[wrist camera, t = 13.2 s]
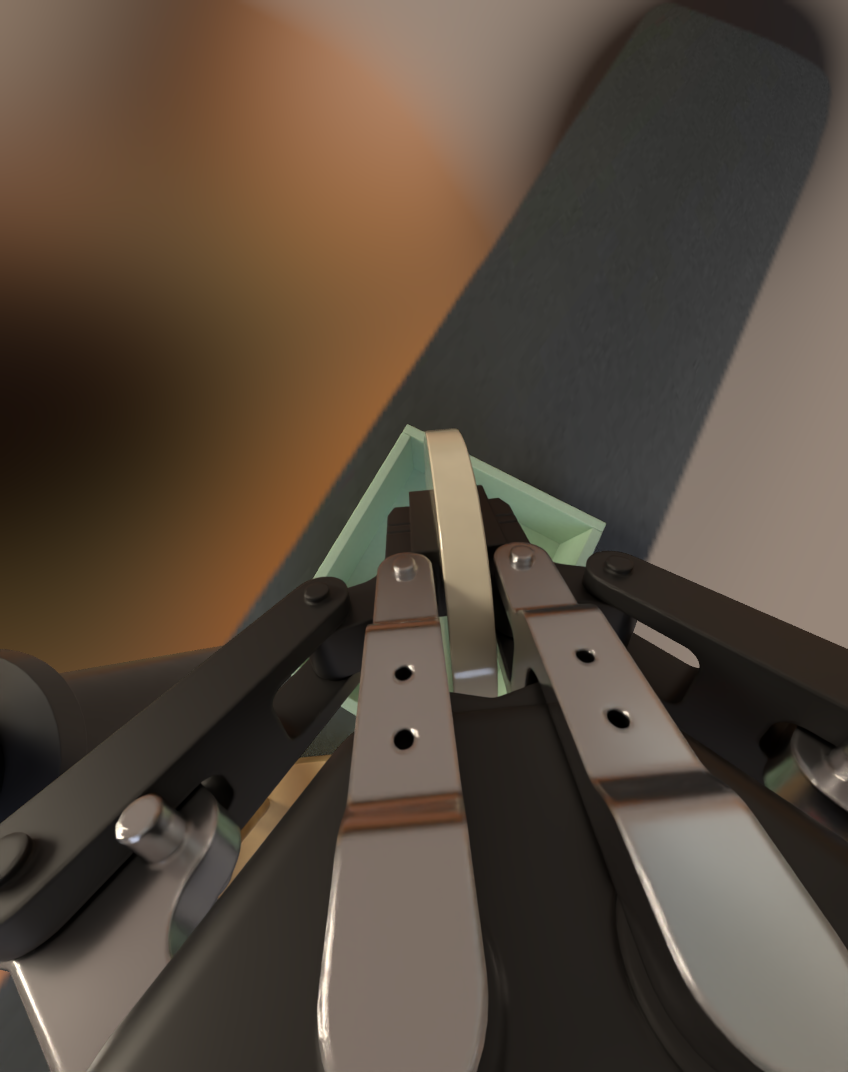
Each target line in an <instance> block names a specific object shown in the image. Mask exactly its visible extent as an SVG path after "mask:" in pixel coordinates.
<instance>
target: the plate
mask: <svg viewBox="0 0 848 1072" xmlns="http://www.w3.org/2000/svg"><path fill="white" fill-rule="evenodd" d="M424 465H425V481H426V490H430V496H431V502H432V508H433V515H434V521H435V527H436V534H437V540H438V546H439V556H440V572H441V588H442V603H443V617H439V618H440V624H441V632H442V640H443V647H444V655H445V663H446V671H447V678H448V686H449V692H454V693H461V694H468V695H475V696H482V697H490V698H494V697H498V666H497V643H496V629H495V615H494V605H493V594H492V584H491V576H490V567H489V559H488V551H487V544H486V537H485V530H484V524H483V518H482V512H481V506H480V500H479V495H478V490H477V485H476V480H475V476H474V472H473V468H472V464H471V460H470V456H469V453H468V450H467V446H466V444H465V441H464V439H463V436H462V435H461V433H460V431H459V430H458V429H456V428H451V429H440V430H429V431H425V432H424Z"/></svg>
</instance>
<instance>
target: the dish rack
mask: <svg viewBox="0 0 848 1072" xmlns="http://www.w3.org/2000/svg"><path fill="white" fill-rule="evenodd" d="M330 756H331V755H323V756H312V757H302V758H299V759H298V760H297V761H296V763H295V764H294V765H293V766H292V768H291V769H290V770H289V771H288V773H287V774H286V775H285V776H284V778H283V779H282V780H281V781H280V783H279V784H278V785H277V786H276V788H275V789H274V790H273V791H272V793H271V794H270V795H269V796H268V798H267V799H266V800H265V801H264V803H263V804H262V805H261V806H260V808H259V809H258V810H257V811H256V813H255V814H254V815H253V816H252V818H251V819H250V820H249V821H248V823H247V824H246V825H245V826H244V828H243V829H242V830H241V831H240V832H241V849H240V853H239V858H238V861H237V863H236V866H235V869H234V871H233V874H232V877H231V880H230V882H229V884H228V886H229V885H230V884H231V882H232V881H233V880H234V878H235V877H236V876H237V875H238V873H239V872H240V871H241V870H242V868H243V867H244V866H245V864H246V863H247V862H248V861H249V859H250V858H251V857H252V856H253V854H254V853H255V852H256V850H257V849H258V848H259V847H260V845H261V844H262V843H263V842H264V840H265V839H266V838H267V836H268V835H269V834H270V833H271V831H272V830H273V829H274V828H275V826H276V825H277V824H278V822H279V821H280V820H281V819H282V817H283V816H284V815H285V814H286V812H287V811H288V810H289V809H290V807H291V806H292V805H293V803H294V802H295V801H296V800H297V798H298V797H299V796H300V794H301V793H302V792H303V791H304V789H305V788H306V787H307V786H308V784H309V783H310V782H311V780H312V779H313V778H314V777H315V775H316V774H317V773H318V771H319V770H320V769H321V768H322V766H323V765H324V764H325V763H326V761H327V760H328V759H329V757H330ZM228 886H227V887H228ZM227 887H226V889H227ZM226 889H225V890H226ZM225 890H224V891H225ZM224 891H223V892H224ZM223 892H222V893H221V894H220V895H219V896H218V899H219V898H220V896H221V895H222V894H223Z"/></svg>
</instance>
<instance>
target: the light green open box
mask: <svg viewBox="0 0 848 1072" xmlns="http://www.w3.org/2000/svg"><path fill="white" fill-rule="evenodd" d="M469 456H470V455H469ZM470 460H471V464H472V468H473V472H474V476H475V480H476V485H482V486H483V488H484V491H485V493H486V495H487V497H488V499H491V498H500V499H501V500H503V501H504V502H506V503H507V504H509V505H510V507H511V509H512V511H513V513H514V515H515V516H516V518H517V520H518V522H519V524H520V525H521V527H522V529H523V531H524V533H525V534H526V536H527V538H528V540H529V542H530V543H531V544H534V545H537V546H539V547H541V548H543V549H544V550H545V551H546V552H547V553H548V554H549V556H550V557H551V559H552V561H553V562H556V563H560V564H567V565H576V566H586V562H587V559H588V557H590V556H591V555H592V554H593V552H594V550H595V548H596V545H597V543H598V541H599V539H600V537H601V535H602V532H603V530H604V528H605V526H606V523H604V522H602V521H600V520H598V519H596V518H594V517H592V516H590V515H588V514H586V513H584V512H582V511H580V510H578V509H576V508H574V507H572V506H570V505H568V504H566V503H564V502H562V501H560V500H558V499H556V498H554V497H552V496H550V495H548V494H546V493H544V492H542V491H540V490H538V489H536V488H534V487H532V486H530V485H528V484H526V483H524V482H522V481H520V480H518V479H516V478H514V477H512V476H510V475H508V474H506V473H504V472H502V471H500V470H498V469H496V468H494V467H492V466H490V465H488V464H486V463H484V462H482V461H480V460H478V459H476V458H474V457H472V456H470ZM421 490H426V481H425V465H424V432H422V431H420V430H418V429H416V428H414V427H412V426H410V425H408V424H407V426H406V427H405V429H404V431H403V433H402V434H401V435H400V437H399V439H398V440H397V442H396V444H395V445H394V447H393V449H392V450H391V452H390V453H389V455H388V457H387V458H386V460H385V462H384V463H383V465H382V467H381V468H380V470H379V471H378V473H377V475H376V476H375V478H374V480H373V481H372V483H371V485H370V486H369V488H368V489H367V491H366V493H365V494H364V496H363V498H362V499H361V501H360V503H359V504H358V506H357V507H356V509H355V511H354V512H353V514H352V516H351V517H350V519H349V521H348V522H347V524H346V525H345V527H344V529H343V530H342V532H341V534H340V535H339V537H338V539H337V540H336V542H335V543H334V545H333V547H332V548H331V550H330V552H329V553H328V555H327V557H326V558H325V560H324V562H323V563H322V565H321V566H320V568H319V570H318V571H317V573H316V575H315V576H314V578H318V577H336V578H339V579H341V580H342V581H344V582H345V583H346V585H347V587H348V588H349V587H352V586H355V585H358V584H361V583H364V582H366V581H368V580H370V579H372V578H374V577H375V576H376V575H377V570H378V567H379V565H380V564H381V562H382V561H384V560H385V550H386V534H387V517H388V515H389V514H390V512H391V511H392V510H393V509H394V507H405V506H409V492H411V491H421ZM314 578H313V579H314ZM308 659H309V658H308ZM308 659H307V660H308ZM307 660H306V661H307ZM306 661H305V662H306ZM305 662H304V663H305ZM304 663H303V664H302V665H301V666H300V667H299V668H298V669H297V670H296V671H295V672H294V673H293V674H292V675H291V676H293V675H294V674H295V673H296V672H297V671H298V670H299V669H300V668H301V667H302V666H303V665H304ZM497 666H498V697H499V696H501V695H504V694H507V691H506V687H505V684H504V680H503V676H502V673H501V669H500V665H499V662H498V658H497ZM359 686H360V683H359V684H358V685H357V686H356V688H355V689H354V690H353V691H352V693H351V694H350V695H349V696H348V698H347V699H346V700H345V701H344V703H343V704H342V705H341V707H343V708H344V709H346V710H348V711H349V712H351V713H352V714H354V715H356V714H357V705H358V696H359Z"/></svg>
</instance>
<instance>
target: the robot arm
mask: <svg viewBox="0 0 848 1072" xmlns="http://www.w3.org/2000/svg"><path fill="white" fill-rule="evenodd" d="M477 490H478V495H479V500H480V506H481V512H482V518H483V524H484V530H485V537H486V544H487V551H488V559H489V567H490V576H491V584H492V594H493V605H494V615H495V629H496V643H497V658H498V662H499V665H500V669H501V673H502V676H503V680H504V684H505V687H506V691H507V694H504V695H501V696H499V697H494V698H490V697H482V696H475V695H468V694H461V693H454V692H449V686H448V678H447V671H446V663H445V655H444V647H443V640H442V632H441V624H440V618H439V617H443V603H442V588H441V572H440V556H439V546H438V540H437V534H436V527H435V521H434V515H433V508H432V502H431V496H430V490H421V491H411V492H409V506H405V507H394V509H393V510H392V511H391V512H390V514H389V515H388V517H387V534H386V550H385V560H384V561H382V562H381V564H380V565H379V567H378V570H377V575H376V576H375V577H374V578H372V579H370V580H368V581H366V582H364V583H361V584H358V585H355V586H352V587H349V588H348V587H347V585H346V583H345V582H344V581H342V580H341V579H339V578H336V577H318V578H314V579H311V580H309V581H306V582H304V583H303V584H301V585H300V586H298V587H297V588H296V589H294V590H293V591H292V592H291V593H289V594H288V595H287V596H286V597H284V598H283V599H282V600H281V601H279V602H278V603H277V604H276V605H274V606H273V607H272V608H271V609H269V610H268V611H267V612H266V613H264V614H263V615H262V616H260V617H259V618H258V619H257V620H255V621H254V622H253V623H252V624H250V625H249V626H248V627H247V628H245V629H244V630H243V631H242V632H240V633H239V634H238V635H237V636H235V637H234V638H233V639H232V640H230V641H229V642H228V643H227V644H225V645H224V646H223V647H222V648H220V649H219V650H218V651H217V652H215V653H214V654H213V655H212V656H210V657H209V658H208V659H207V660H205V661H204V662H203V663H201V664H200V665H199V666H198V667H196V668H195V669H194V670H193V671H191V672H190V673H189V674H188V675H186V676H185V677H184V678H183V679H181V680H180V681H179V682H178V683H176V684H175V685H174V686H173V687H171V688H170V689H169V690H168V691H166V692H165V693H164V694H163V695H161V696H160V697H159V698H158V699H156V700H155V701H154V702H153V703H151V704H150V705H149V706H148V707H146V708H145V709H144V710H142V711H141V712H140V713H139V714H137V715H136V716H135V717H134V718H132V719H131V720H130V721H129V722H127V723H126V724H125V725H124V726H122V727H121V728H120V729H119V730H117V731H116V732H115V733H114V734H112V735H111V736H110V737H109V738H107V739H106V740H105V741H104V742H102V743H101V744H100V745H99V746H97V747H96V748H95V749H94V750H92V751H91V752H90V753H89V754H87V755H86V756H85V757H83V758H82V759H81V760H80V761H78V762H77V763H76V764H75V765H73V766H72V767H71V768H70V769H68V770H67V771H66V772H65V773H63V774H62V775H61V776H60V777H58V778H57V779H56V780H55V781H53V782H52V783H51V784H50V785H48V786H47V787H46V788H45V789H43V790H42V791H41V792H40V793H38V794H37V795H36V796H35V797H33V798H32V799H31V800H30V801H28V802H27V803H26V804H24V805H23V806H22V807H21V808H19V809H18V810H17V811H16V812H14V813H13V814H12V815H11V816H9V817H8V818H7V819H6V820H4V821H3V822H2V823H1V824H0V970H4V971H8V972H10V973H11V975H12V978H13V980H14V982H15V985H16V987H17V990H18V992H19V995H20V997H21V1000H22V1002H23V1004H24V1007H25V1009H26V1012H27V1014H28V1017H29V1019H30V1022H31V1024H32V1026H33V1029H34V1031H35V1034H36V1036H37V1039H38V1041H39V1044H40V1046H41V1048H42V1051H43V1053H44V1056H45V1058H46V1061H47V1063H48V1066H49V1068H50V1070H51V1072H848V649H846V648H844V647H842V646H839V645H837V644H835V643H832V642H830V641H828V640H825V639H823V638H821V637H819V636H816V635H814V634H812V633H809V632H807V631H805V630H802V629H800V628H798V627H796V626H793V625H791V624H789V623H786V622H784V621H782V620H779V619H777V618H775V617H773V616H770V615H768V614H765V613H763V612H761V611H758V610H756V609H754V608H752V607H750V606H747V605H745V604H743V603H740V602H738V601H735V600H733V599H731V598H729V597H726V596H724V595H722V594H720V593H717V592H715V591H713V590H710V589H708V588H706V587H703V586H701V585H699V584H697V583H694V582H692V581H690V580H687V579H685V578H683V577H680V576H678V575H676V574H673V573H671V572H669V571H667V570H664V569H662V568H660V567H657V566H655V565H653V564H650V563H648V562H646V561H644V560H641V559H639V558H637V557H634V556H632V555H629V554H626V553H622V552H617V551H601V552H597V553H594V554H592V555H591V556H590V557H588V559H587V562H586V566H576V565H567V564H560V563H556V562H553V561H552V559H551V557H550V556H549V554H548V553H547V552H546V551H545V550H544V549H543V548H541V547H539V546H537V545H534V544H531V543H530V542H529V540H528V538H527V536H526V534H525V533H524V531H523V529H522V527H521V525H520V524H519V522H518V520H517V518H516V516H515V515H514V513H513V511H512V509H511V507H510V505H509V504H507V503H506V502H504V501H503V500H501V499H500V498H491V499H488V497H487V495H486V493H485V491H484V488H483V486H482V485H477ZM637 620H638V621H639V622H641V623H643V624H645V625H647V626H648V627H650V628H652V629H654V630H656V631H658V632H659V633H661V634H663V635H665V636H667V637H668V638H670V639H672V640H674V641H676V642H677V643H679V644H681V645H683V646H685V647H686V648H688V649H689V650H690V651H691V652H692V653H693V654H694V655H695V656H696V657H697V659H698V661H699V665H700V668H695V667H692V666H690V665H688V664H686V663H684V662H683V661H681V660H679V659H677V658H676V657H674V656H672V655H670V654H669V653H667V652H665V651H664V650H662V649H660V648H658V647H657V646H655V645H653V644H652V643H650V642H648V641H647V640H645V639H643V638H641V637H640V636H638V635H636V634H635V633H633V631H634V628H635V625H636V622H637ZM308 658H309V659H308ZM307 659H308V660H307ZM306 660H307V661H306ZM305 661H306V662H305ZM304 662H305V663H304ZM303 663H304V665H303V666H302V667H301V668H300V669H299V670H298V671H297V672H296V673H295V674H294V675H293V676H292V677H291V678H290V679H289V680H288V681H287V682H286V683H285V684H284V685H283V686H282V687H281V688H280V686H281V685H282V684H283V683H284V682H285V681H286V680H287V679H288V678H289V677H290V676H291V675H292V674H293V673H294V672H295V671H296V670H297V669H298V668H299V667H300V666H301V665H302V664H303ZM359 683H360V686H359V696H358V705H357V714H356V724H355V732H353V733H352V734H351V735H350V736H349V737H347V738H346V740H345V741H344V742H343V743H342V744H341V745H340V746H339V747H338V748H337V749H336V750H335V751H334V752H333V754H332V755H331V756H330V757H329V759H328V760H327V761H326V763H325V764H324V765H323V766H322V768H321V769H320V770H319V771H318V773H317V774H316V775H315V777H314V778H313V779H312V780H311V782H310V783H309V784H308V786H307V787H306V788H305V789H304V791H303V792H302V793H301V794H300V796H299V797H298V798H297V800H296V801H295V802H294V803H293V805H292V806H291V807H290V809H289V810H288V811H287V812H286V814H285V815H284V816H283V817H282V819H281V820H280V821H279V822H278V824H277V825H276V826H275V828H274V829H273V830H272V831H271V833H270V834H269V835H268V836H267V838H266V839H265V840H264V842H263V843H262V844H261V845H260V847H259V848H258V849H257V850H256V852H255V853H254V854H253V856H252V857H251V858H250V859H249V861H248V862H247V863H246V864H245V866H244V867H243V868H242V870H241V871H240V872H239V873H238V875H237V876H236V877H235V878H234V880H233V881H232V882H231V884H230V885H229V886H228V884H229V882H230V880H231V877H232V874H233V871H234V869H235V866H236V863H237V861H238V858H239V853H240V849H241V832H240V831H241V830H242V829H243V828H244V826H245V825H246V824H247V823H248V821H249V820H250V819H251V818H252V816H253V815H254V814H255V813H256V811H257V810H258V809H259V808H260V806H261V805H262V804H263V803H264V801H265V800H266V799H267V798H268V796H269V795H270V794H271V793H272V791H273V790H274V789H275V788H276V786H277V785H278V784H279V783H280V781H281V780H282V779H283V778H284V776H285V775H286V774H287V773H288V771H289V770H290V769H291V768H292V766H293V765H294V764H295V763H296V761H297V760H298V759H299V758H300V756H301V755H302V754H303V753H304V751H305V750H306V749H307V748H308V746H309V745H310V744H311V743H312V741H313V740H314V739H315V738H316V736H317V735H318V734H319V733H320V731H321V730H322V729H323V728H324V726H325V725H326V724H327V723H328V721H329V720H330V719H331V718H332V716H333V715H334V714H335V713H336V711H337V710H338V709H339V708H340V706H341V705H342V704H343V703H344V701H345V700H346V699H347V698H348V696H349V695H350V694H351V693H352V691H353V690H354V689H355V688H356V686H357V685H358V684H359ZM279 688H280V689H279ZM278 689H279V690H278ZM3 777H4V756H3V750H2V746H1V743H0V792H1V788H2V783H3ZM227 886H228V887H227ZM226 887H227V889H226ZM225 889H226V890H225ZM224 890H225V891H224ZM223 891H224V892H223ZM222 892H223V894H222V895H221V896H220V898H219V899H218V900H217V898H218V896H219V895H220V894H221V893H222ZM216 900H217V901H216ZM215 902H216V903H215Z"/></svg>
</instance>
